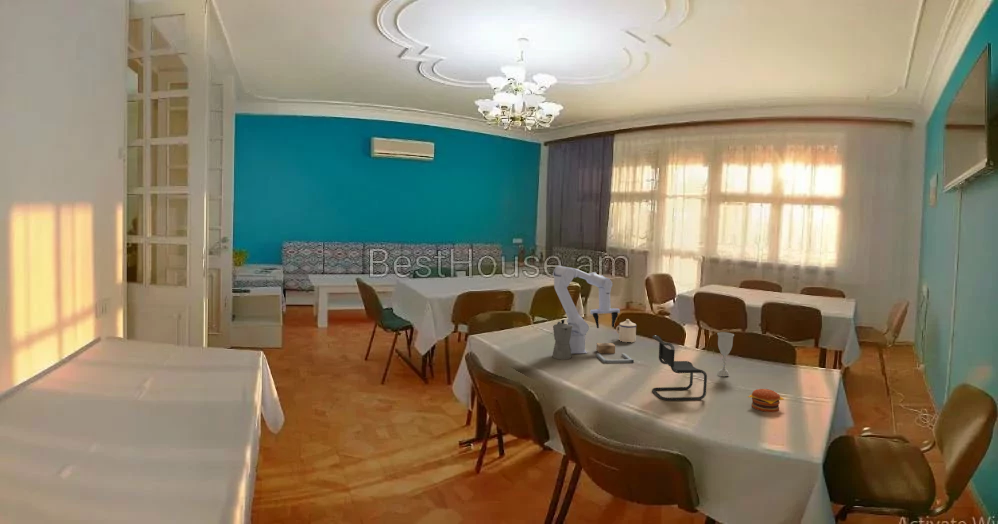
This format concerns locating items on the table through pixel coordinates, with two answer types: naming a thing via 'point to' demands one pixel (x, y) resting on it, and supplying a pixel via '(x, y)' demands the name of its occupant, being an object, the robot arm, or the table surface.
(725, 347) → the chalice
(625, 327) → the teacup with lid
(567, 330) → the coffeepot
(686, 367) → the chair
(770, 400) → the hamburger
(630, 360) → the grey u-shaped bracket
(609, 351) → the walnut block
